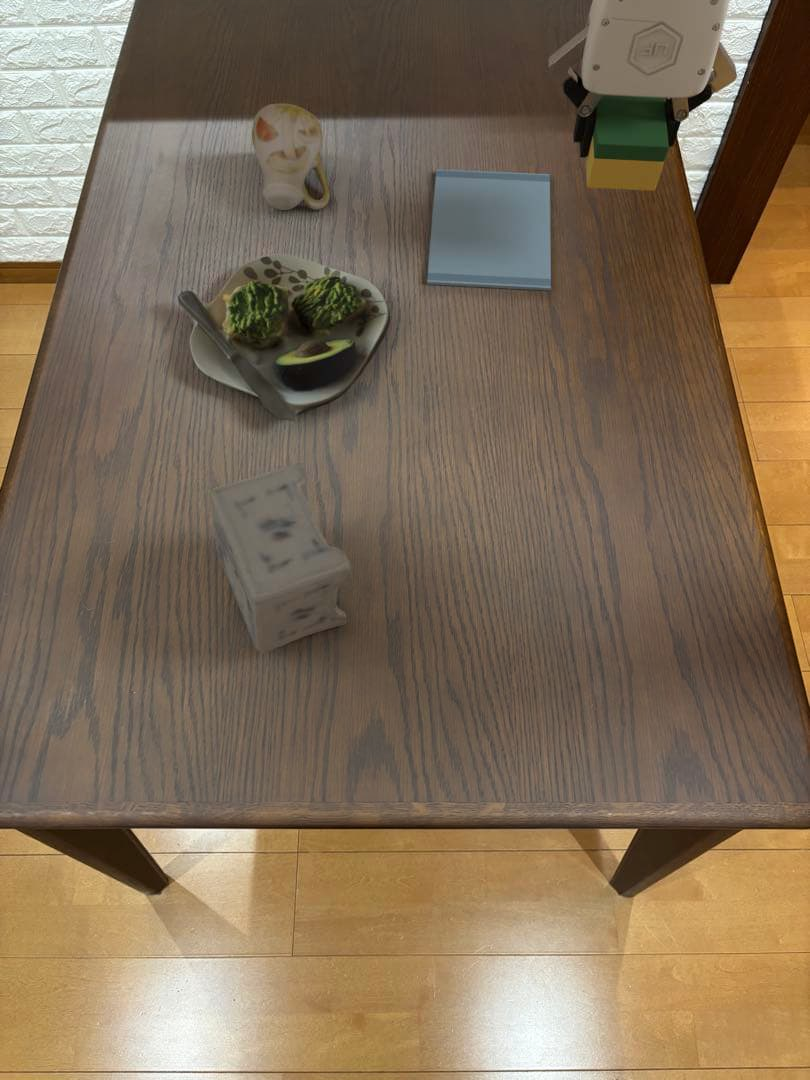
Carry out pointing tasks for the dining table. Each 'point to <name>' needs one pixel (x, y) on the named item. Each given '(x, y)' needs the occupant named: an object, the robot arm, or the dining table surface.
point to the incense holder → (277, 558)
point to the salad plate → (288, 332)
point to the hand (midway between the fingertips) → (620, 147)
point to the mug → (288, 155)
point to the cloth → (490, 230)
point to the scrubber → (627, 143)
